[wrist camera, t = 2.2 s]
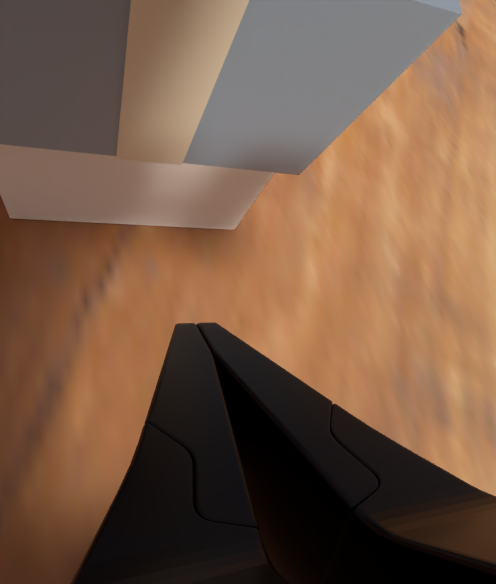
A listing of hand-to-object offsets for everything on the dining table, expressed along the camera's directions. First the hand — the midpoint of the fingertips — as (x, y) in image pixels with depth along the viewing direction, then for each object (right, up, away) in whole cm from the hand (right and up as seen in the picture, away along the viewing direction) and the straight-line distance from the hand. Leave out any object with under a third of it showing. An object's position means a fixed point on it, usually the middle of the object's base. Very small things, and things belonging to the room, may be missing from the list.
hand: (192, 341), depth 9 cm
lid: (-1, +8, +3) cm, 8 cm away
